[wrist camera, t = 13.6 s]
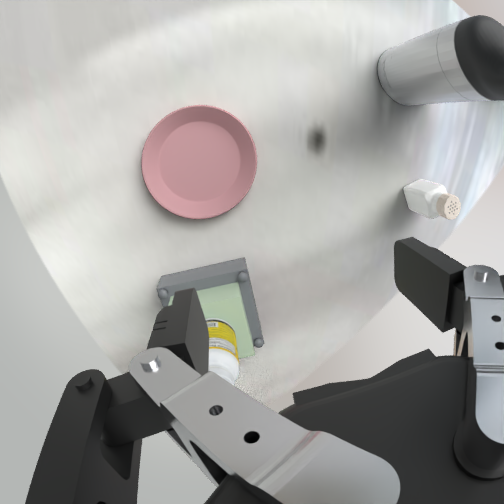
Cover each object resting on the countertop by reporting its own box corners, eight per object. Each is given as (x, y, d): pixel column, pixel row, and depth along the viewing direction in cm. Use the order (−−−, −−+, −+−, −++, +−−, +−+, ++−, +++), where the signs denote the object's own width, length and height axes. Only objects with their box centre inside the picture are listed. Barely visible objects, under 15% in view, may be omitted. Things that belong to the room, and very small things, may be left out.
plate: (170, 91, 35) (168, 89, 33) (273, 133, 38) (275, 132, 36) (130, 192, 39) (125, 195, 37) (228, 231, 42) (229, 235, 40)
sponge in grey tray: (244, 257, 43) (250, 282, 36) (261, 328, 48) (268, 361, 40) (161, 276, 43) (150, 303, 36) (185, 343, 47) (181, 377, 40)
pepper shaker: (400, 186, 42) (438, 199, 33) (420, 177, 42) (460, 187, 33) (407, 210, 44) (444, 227, 35) (426, 200, 43) (465, 215, 34)
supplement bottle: (221, 357, 39) (223, 413, 30) (184, 340, 38) (177, 394, 29) (244, 328, 38) (252, 382, 29) (206, 308, 37) (203, 361, 27)
